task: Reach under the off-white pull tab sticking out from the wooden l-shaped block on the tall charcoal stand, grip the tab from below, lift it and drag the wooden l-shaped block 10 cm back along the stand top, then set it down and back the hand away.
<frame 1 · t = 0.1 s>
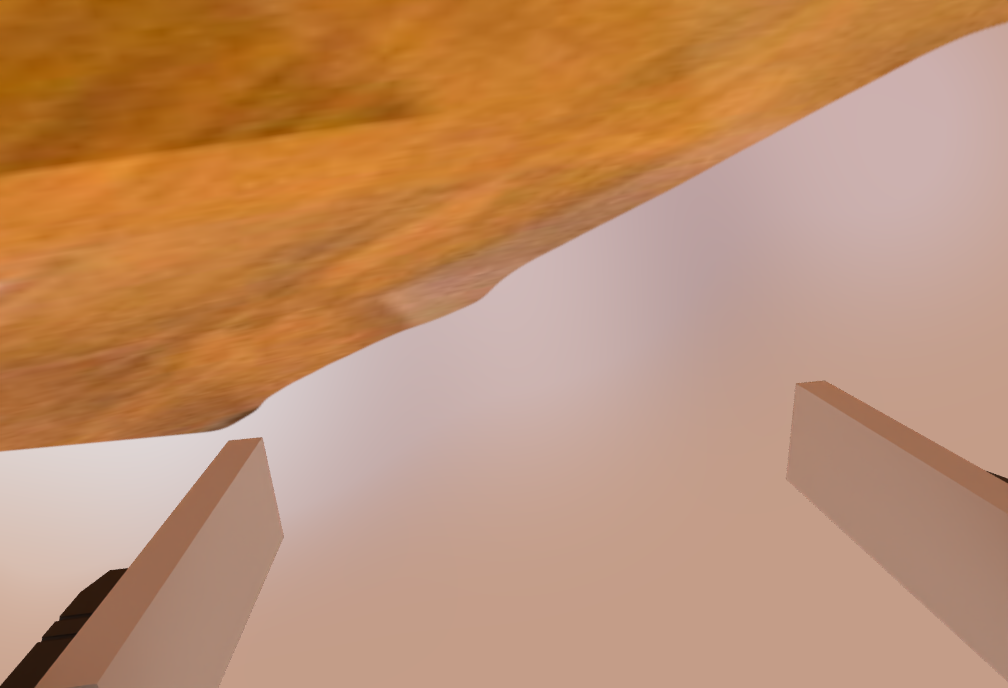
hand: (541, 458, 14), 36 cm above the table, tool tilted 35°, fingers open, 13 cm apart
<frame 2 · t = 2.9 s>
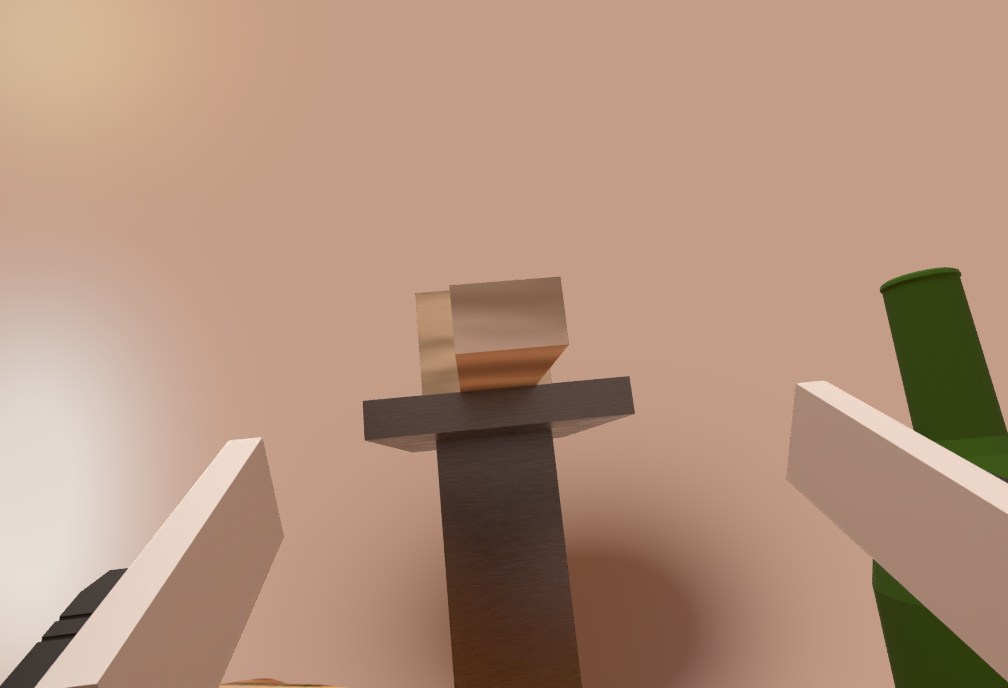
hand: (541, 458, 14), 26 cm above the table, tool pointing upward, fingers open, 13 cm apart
wooden l-shaped block: (488, 417, 47), point 30 cm above the table, touching stand
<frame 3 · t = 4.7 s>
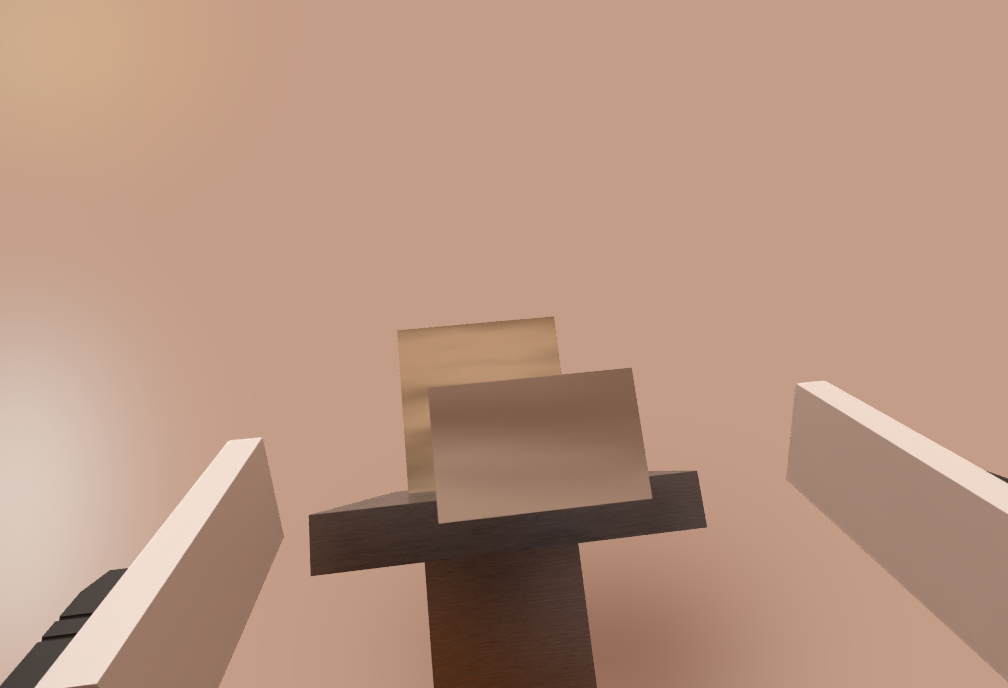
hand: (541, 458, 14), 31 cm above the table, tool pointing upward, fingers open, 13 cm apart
wooden l-shaped block: (490, 483, 38), point 30 cm above the table, touching stand
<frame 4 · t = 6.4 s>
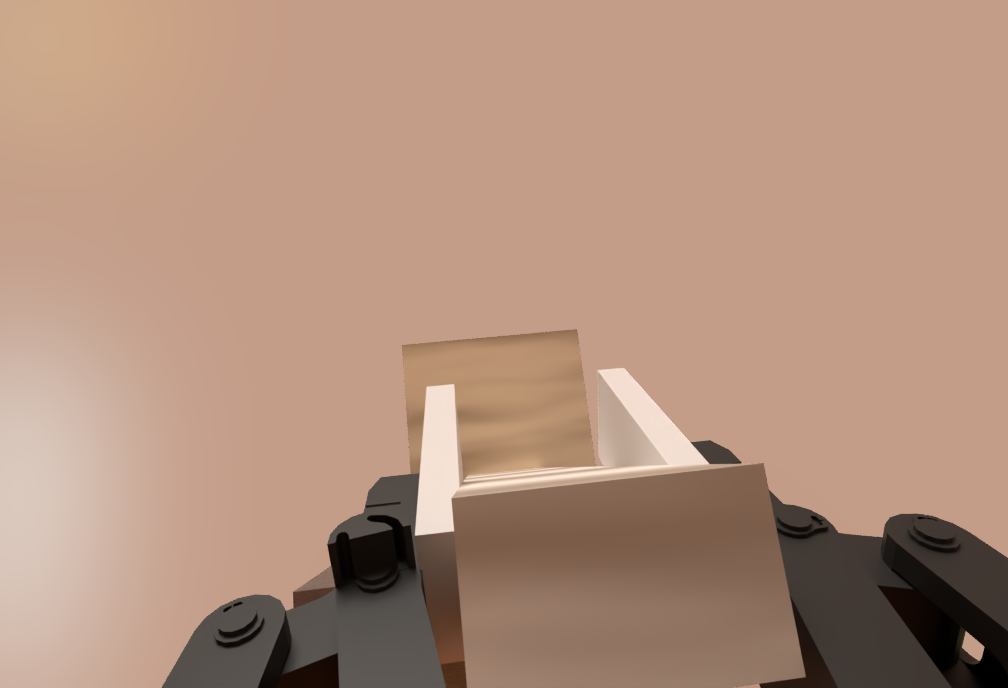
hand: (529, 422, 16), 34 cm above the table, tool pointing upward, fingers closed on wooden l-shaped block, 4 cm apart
wooden l-shaped block: (505, 513, 34), point 30 cm above the table, touching gripper, stand
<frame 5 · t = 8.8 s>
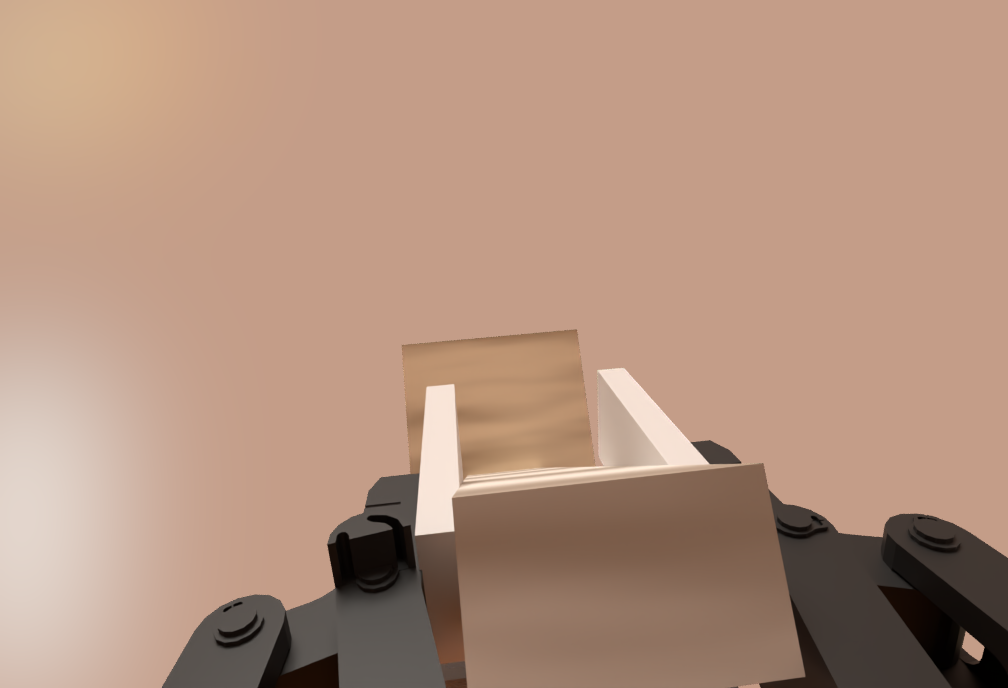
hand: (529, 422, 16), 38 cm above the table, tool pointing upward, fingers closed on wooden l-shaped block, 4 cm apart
wooden l-shaped block: (504, 513, 34), point 34 cm above the table, touching gripper
when the fingers open (35 cm above the table, at t = 11.5 s): wooden l-shaped block stays where it is, resting on stand.
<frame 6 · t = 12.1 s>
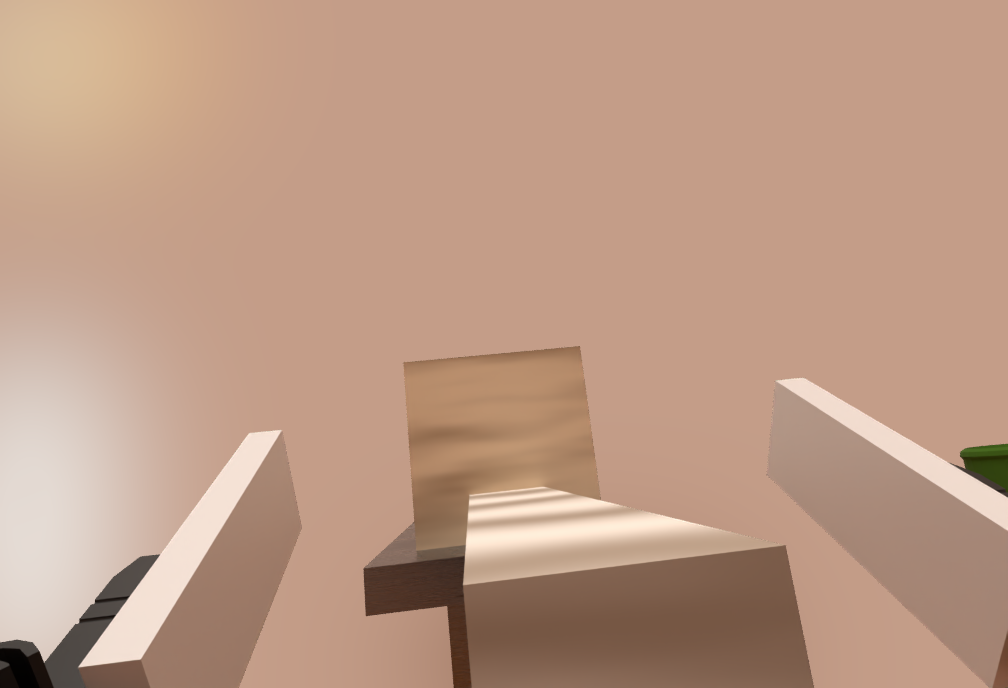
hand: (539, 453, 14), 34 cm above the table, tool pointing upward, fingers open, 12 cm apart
wooden l-shaped block: (507, 531, 34), point 30 cm above the table, touching stand
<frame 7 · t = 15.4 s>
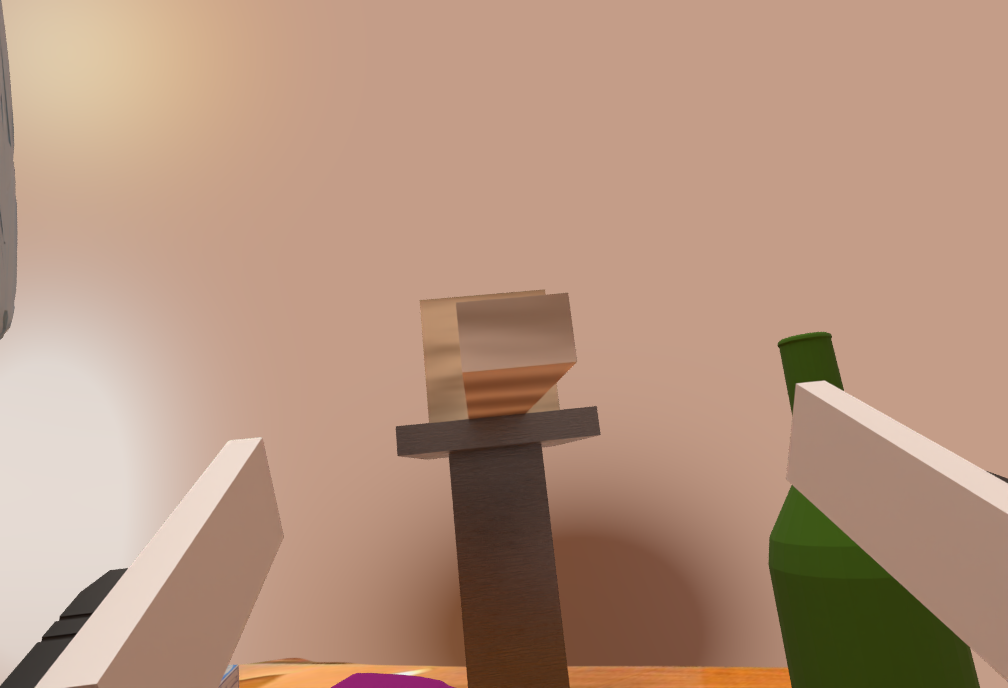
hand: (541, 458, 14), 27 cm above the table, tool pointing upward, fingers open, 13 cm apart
wooden l-shaped block: (493, 424, 47), point 30 cm above the table, touching stand
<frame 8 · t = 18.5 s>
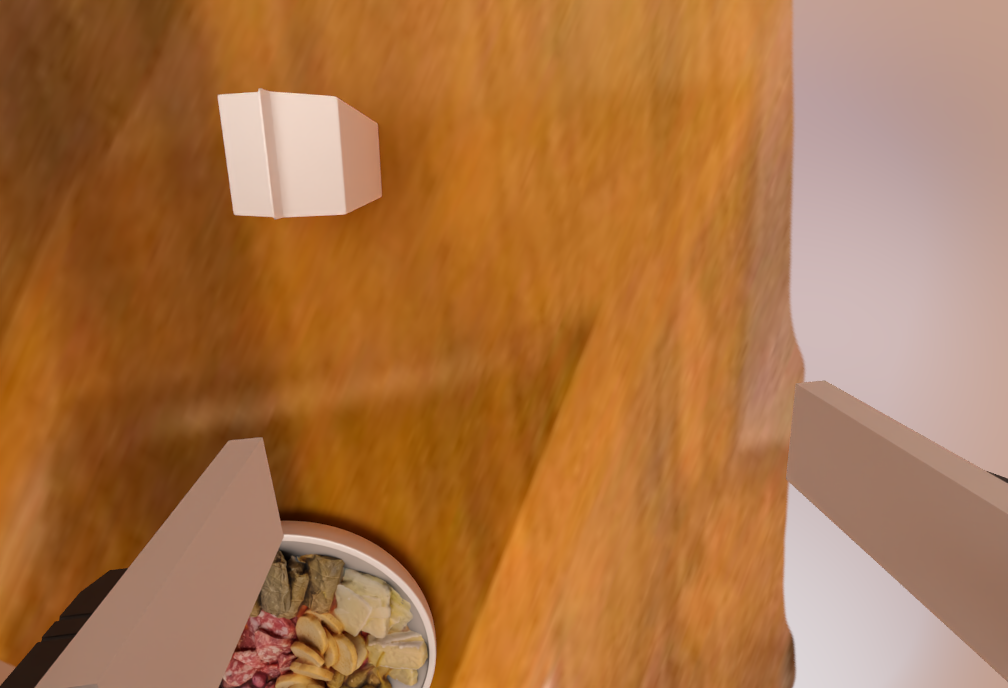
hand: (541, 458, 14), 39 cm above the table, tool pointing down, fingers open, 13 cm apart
bowl: (298, 622, 61), on the table
milk: (344, 160, 48), on the table
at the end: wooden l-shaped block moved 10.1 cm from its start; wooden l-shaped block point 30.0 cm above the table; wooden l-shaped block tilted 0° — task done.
